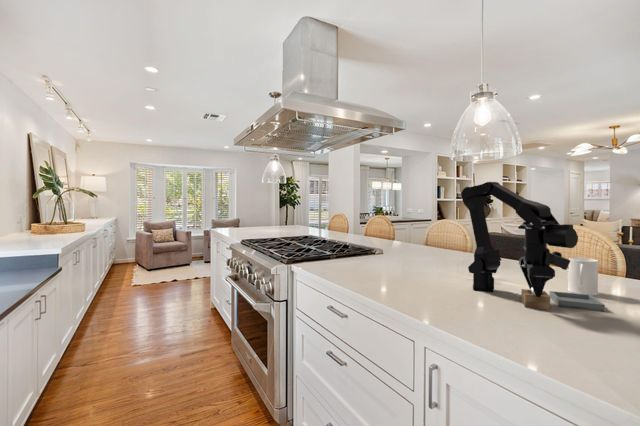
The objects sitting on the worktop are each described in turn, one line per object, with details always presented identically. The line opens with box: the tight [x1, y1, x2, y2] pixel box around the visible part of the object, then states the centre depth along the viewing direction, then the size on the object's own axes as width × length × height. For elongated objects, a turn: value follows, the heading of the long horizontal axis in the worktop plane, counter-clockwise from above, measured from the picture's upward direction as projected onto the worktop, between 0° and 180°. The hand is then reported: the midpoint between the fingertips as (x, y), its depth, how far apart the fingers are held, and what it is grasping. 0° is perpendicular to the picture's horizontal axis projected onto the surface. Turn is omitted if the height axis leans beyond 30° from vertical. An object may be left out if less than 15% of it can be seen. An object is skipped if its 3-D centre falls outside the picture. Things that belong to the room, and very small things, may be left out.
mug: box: [567, 257, 600, 297], centre depth 109 cm, size 12×8×12 cm
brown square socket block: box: [520, 288, 551, 311], centre depth 97 cm, size 6×6×4 cm
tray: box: [548, 290, 606, 312], centre depth 98 cm, size 11×11×2 cm
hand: (534, 292), depth 97 cm, fingers open, 9 cm apart
